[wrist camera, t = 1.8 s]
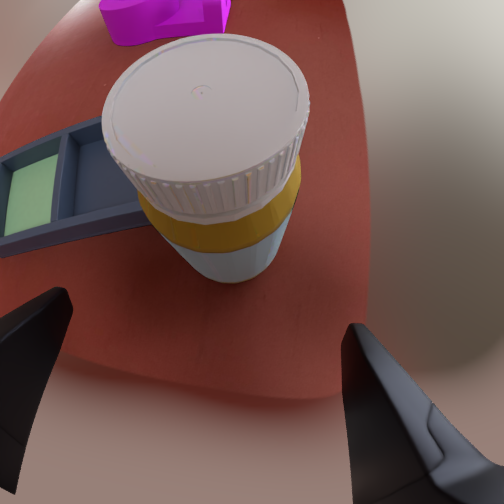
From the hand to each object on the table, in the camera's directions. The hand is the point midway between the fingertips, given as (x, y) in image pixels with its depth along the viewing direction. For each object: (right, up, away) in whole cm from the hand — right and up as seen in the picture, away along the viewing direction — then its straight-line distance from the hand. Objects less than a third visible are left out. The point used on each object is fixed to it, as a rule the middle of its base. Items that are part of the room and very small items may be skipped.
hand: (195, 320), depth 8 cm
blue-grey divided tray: (-14, +8, +15) cm, 22 cm away
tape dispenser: (-10, +32, +21) cm, 39 cm away
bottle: (0, +3, +14) cm, 14 cm away
